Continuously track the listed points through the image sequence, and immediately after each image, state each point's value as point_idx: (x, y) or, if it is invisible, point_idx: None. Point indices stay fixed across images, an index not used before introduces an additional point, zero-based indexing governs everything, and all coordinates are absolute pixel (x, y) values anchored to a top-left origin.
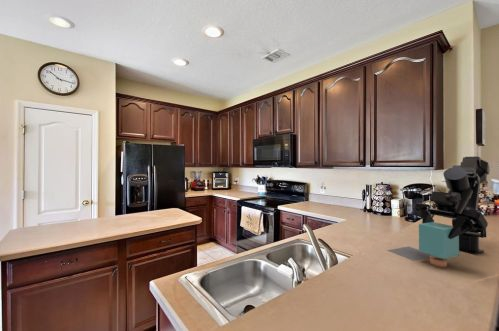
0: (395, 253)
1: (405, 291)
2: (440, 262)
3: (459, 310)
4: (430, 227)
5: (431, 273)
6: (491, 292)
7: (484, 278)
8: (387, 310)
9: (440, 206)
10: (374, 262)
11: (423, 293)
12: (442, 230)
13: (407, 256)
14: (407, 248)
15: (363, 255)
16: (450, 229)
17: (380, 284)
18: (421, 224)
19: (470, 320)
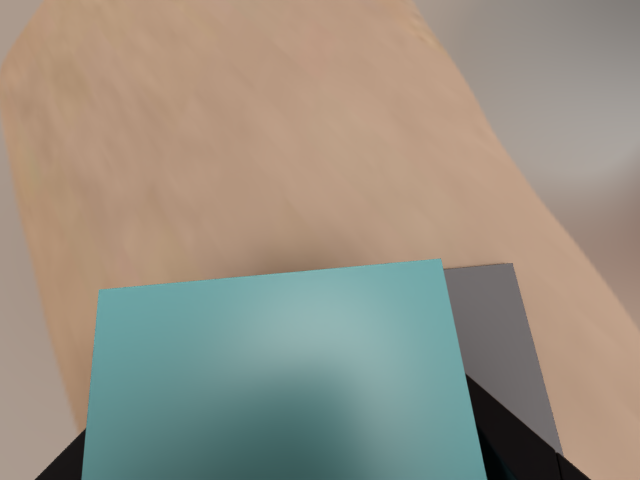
0: (464, 269)
1: (191, 42)
2: None
3: (58, 87)
4: (281, 273)
5: (250, 244)
6: (51, 311)
7: None
8: None
9: None
10: (401, 113)
11: (160, 78)
12: (129, 291)
13: None
14: (530, 421)
15: (478, 124)
16: (93, 461)
17: (251, 11)
18: (411, 270)
19: (22, 68)
